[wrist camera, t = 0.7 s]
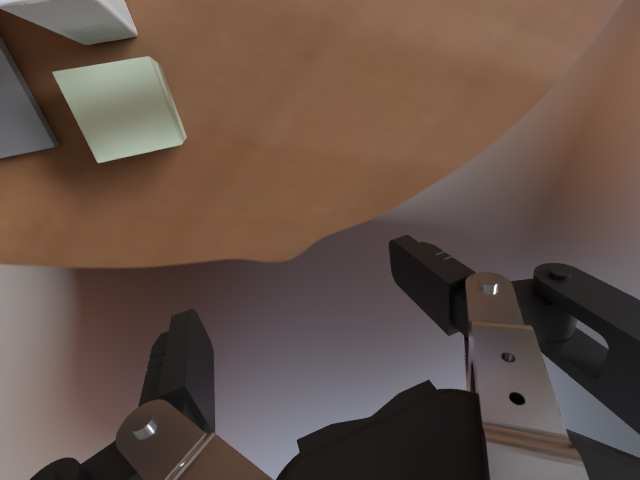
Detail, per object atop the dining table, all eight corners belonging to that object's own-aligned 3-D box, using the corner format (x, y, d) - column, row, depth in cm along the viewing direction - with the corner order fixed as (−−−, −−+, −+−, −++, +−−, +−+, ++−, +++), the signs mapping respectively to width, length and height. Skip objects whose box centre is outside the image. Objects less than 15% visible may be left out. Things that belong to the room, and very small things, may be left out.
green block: (84, 78, 25) (51, 71, 20) (161, 65, 26) (148, 56, 21) (119, 152, 28) (98, 163, 23) (186, 137, 29) (181, 144, 24)
